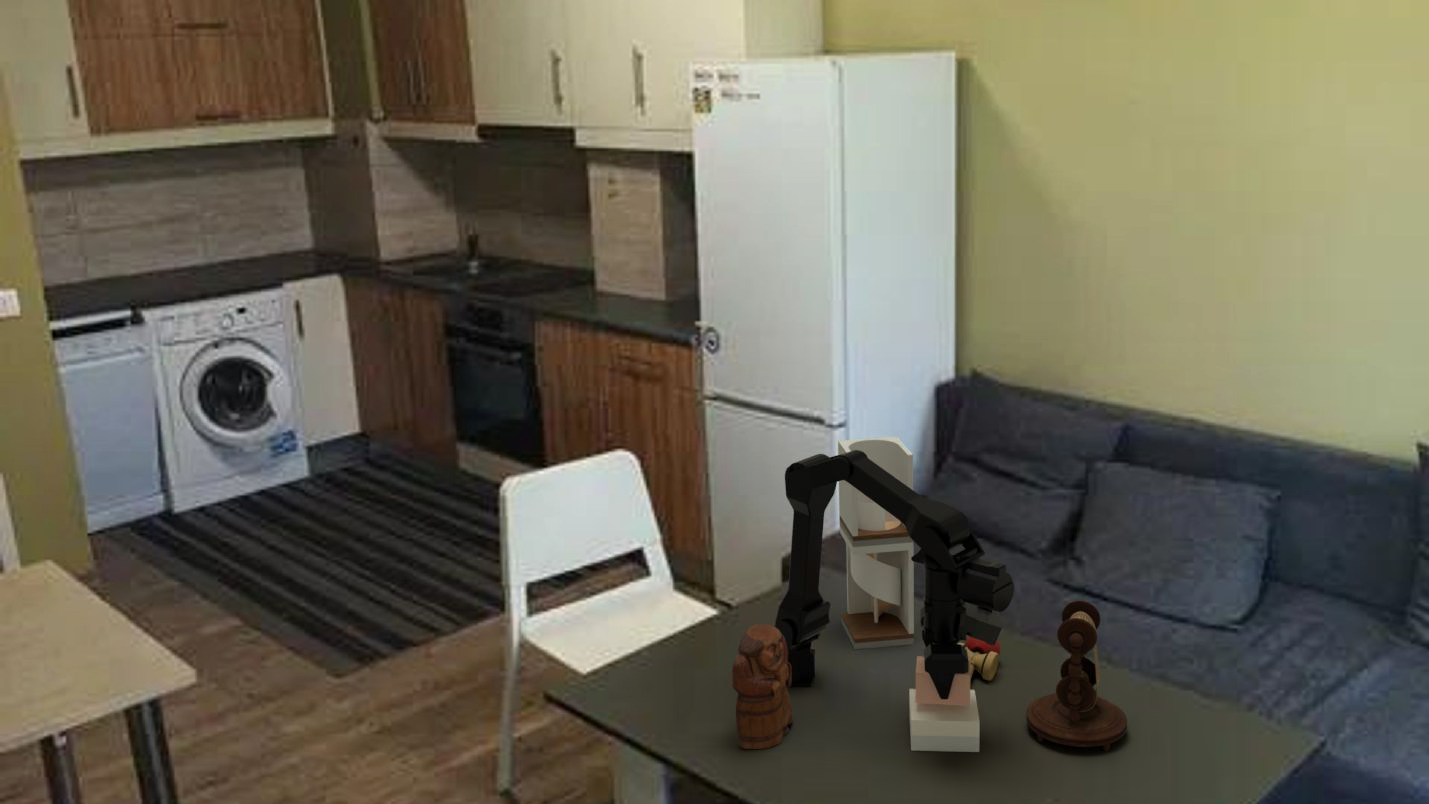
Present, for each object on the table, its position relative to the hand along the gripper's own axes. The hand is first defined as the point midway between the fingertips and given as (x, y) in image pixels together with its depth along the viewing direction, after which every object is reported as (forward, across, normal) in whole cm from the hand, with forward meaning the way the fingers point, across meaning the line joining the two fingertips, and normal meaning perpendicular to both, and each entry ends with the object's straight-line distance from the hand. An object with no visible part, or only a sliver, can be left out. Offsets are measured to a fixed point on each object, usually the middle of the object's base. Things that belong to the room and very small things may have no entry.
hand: (943, 689), depth 195 cm
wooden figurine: (+8, -1, +27) cm, 28 cm away
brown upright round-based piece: (+8, +2, -20) cm, 22 cm away
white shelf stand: (+8, +36, +10) cm, 38 cm away
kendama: (+8, +18, -6) cm, 21 cm away
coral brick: (+1, 0, 0) cm, 1 cm away
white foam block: (+8, 0, 0) cm, 8 cm away
